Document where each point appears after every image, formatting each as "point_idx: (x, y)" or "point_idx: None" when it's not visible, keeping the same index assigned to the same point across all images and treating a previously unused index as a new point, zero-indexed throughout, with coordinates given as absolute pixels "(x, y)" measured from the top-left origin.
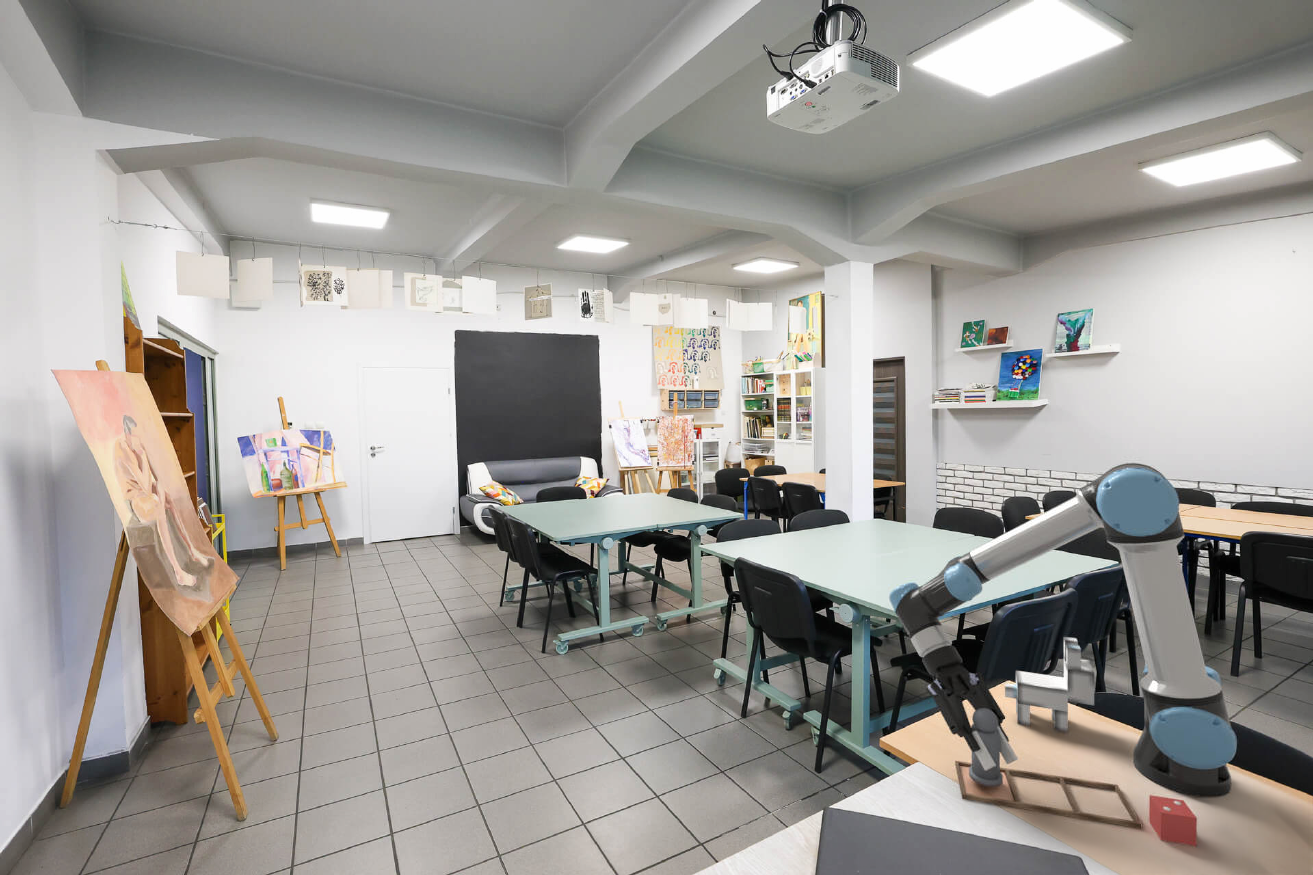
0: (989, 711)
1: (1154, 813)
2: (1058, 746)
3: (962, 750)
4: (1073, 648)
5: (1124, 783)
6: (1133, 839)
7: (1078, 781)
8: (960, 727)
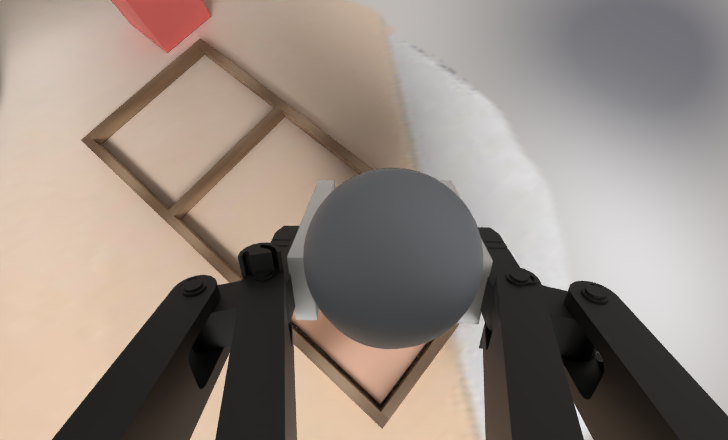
0: (382, 201)
1: (166, 3)
2: None
3: None
4: None
5: (50, 152)
6: (256, 33)
7: (145, 189)
8: (597, 288)
